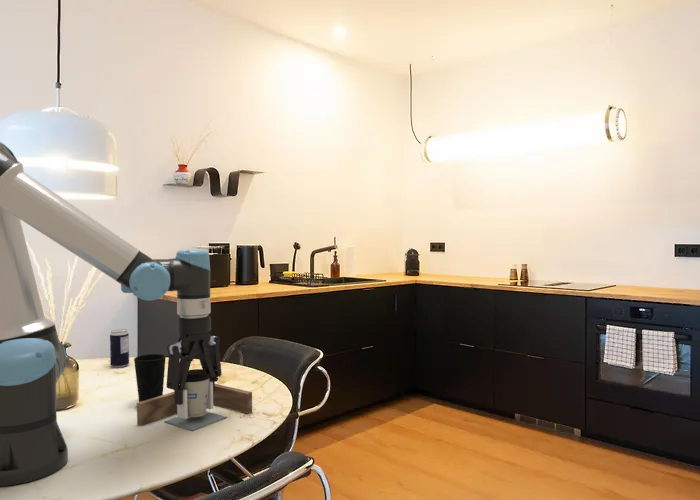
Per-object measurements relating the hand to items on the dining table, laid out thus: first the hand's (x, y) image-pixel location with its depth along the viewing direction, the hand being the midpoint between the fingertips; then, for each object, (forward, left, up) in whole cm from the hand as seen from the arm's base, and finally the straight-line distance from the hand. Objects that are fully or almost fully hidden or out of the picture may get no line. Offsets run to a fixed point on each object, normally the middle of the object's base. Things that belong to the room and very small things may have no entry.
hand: (195, 412), depth 125 cm
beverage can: (+20, +62, -2) cm, 65 cm away
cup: (+2, +20, -2) cm, 20 cm away
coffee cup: (0, 0, -1) cm, 1 cm away
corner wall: (+1, +1, -2) cm, 2 cm away
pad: (0, 0, -2) cm, 2 cm away
